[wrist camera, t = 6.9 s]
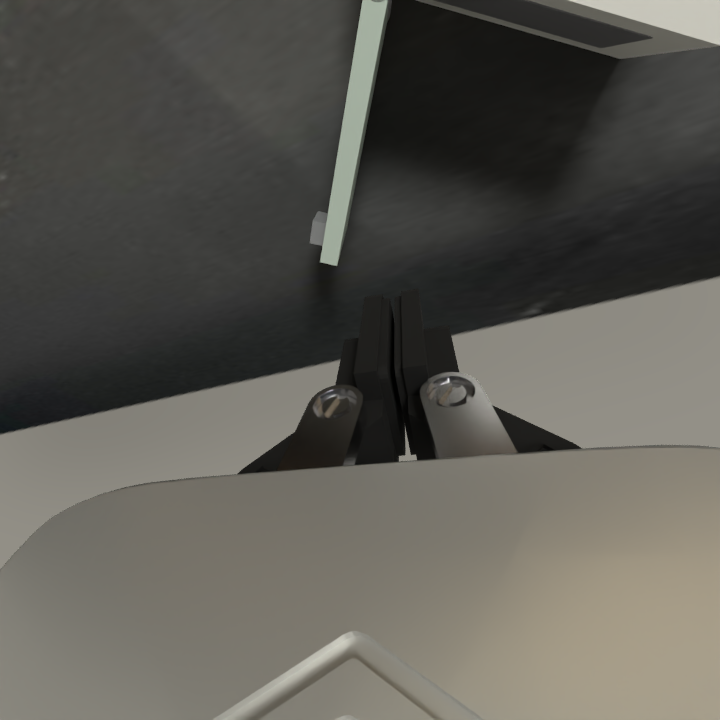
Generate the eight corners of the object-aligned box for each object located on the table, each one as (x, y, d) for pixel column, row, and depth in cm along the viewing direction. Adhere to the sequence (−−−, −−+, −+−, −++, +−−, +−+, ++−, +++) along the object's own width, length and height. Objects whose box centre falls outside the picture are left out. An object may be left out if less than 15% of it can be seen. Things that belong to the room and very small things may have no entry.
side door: (355, -11, 20) (344, -51, 15) (393, 0, 20) (396, -35, 15) (319, 223, 28) (302, 258, 22) (347, 230, 28) (338, 266, 22)
